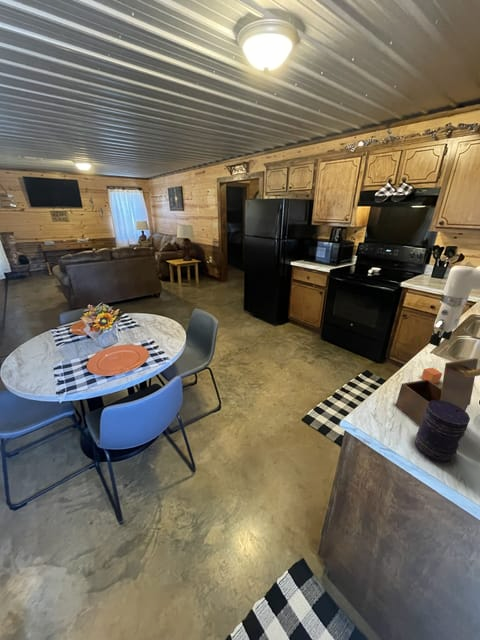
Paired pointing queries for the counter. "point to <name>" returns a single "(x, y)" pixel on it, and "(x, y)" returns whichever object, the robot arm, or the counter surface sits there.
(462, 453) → the counter surface
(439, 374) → the block
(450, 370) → the lid
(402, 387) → the chest
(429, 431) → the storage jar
